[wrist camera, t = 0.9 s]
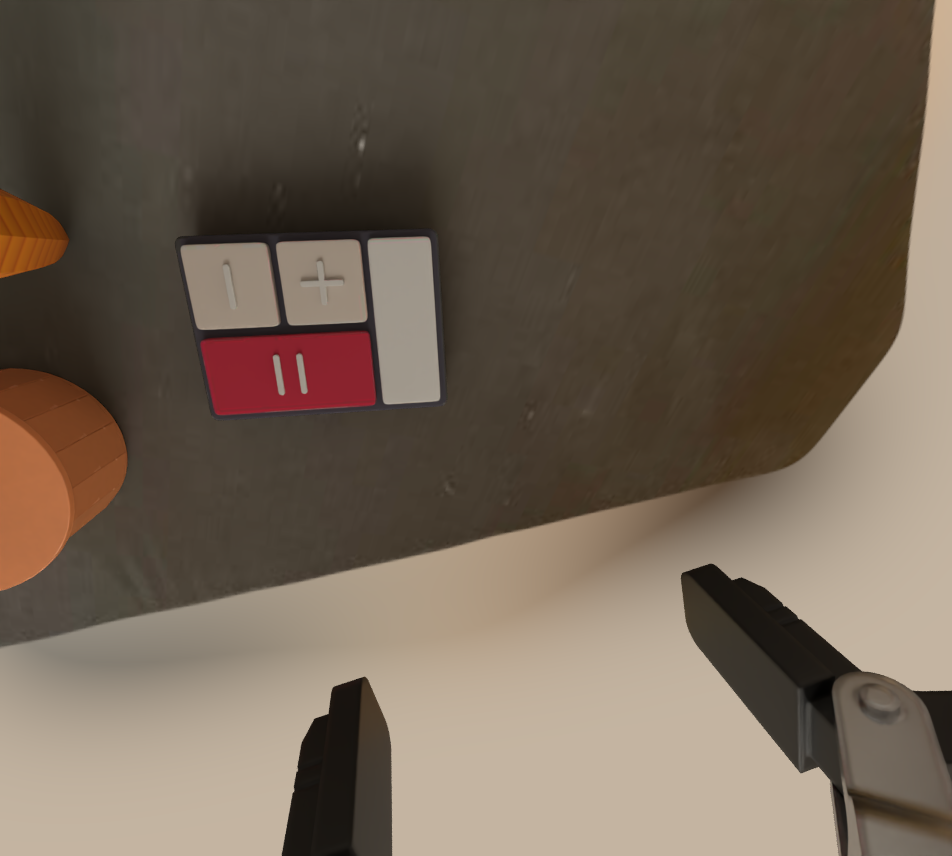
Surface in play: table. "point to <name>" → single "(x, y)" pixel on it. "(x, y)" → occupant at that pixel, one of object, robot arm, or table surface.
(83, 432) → the pot
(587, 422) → the table surface
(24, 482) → the pot lid
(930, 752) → the robot arm
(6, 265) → the carrot
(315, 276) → the calculator
